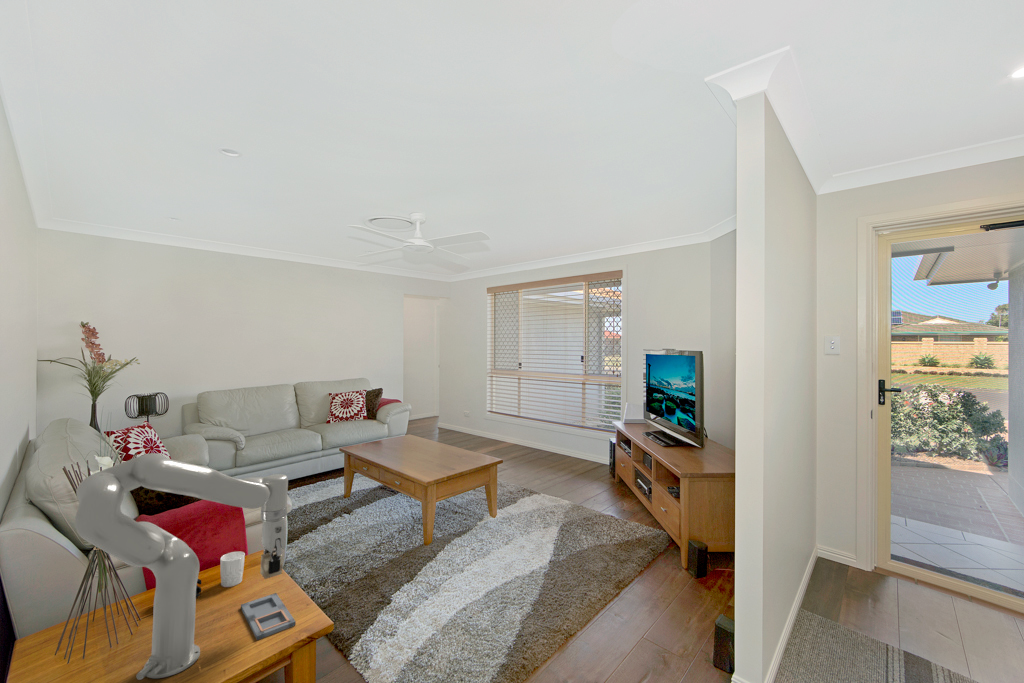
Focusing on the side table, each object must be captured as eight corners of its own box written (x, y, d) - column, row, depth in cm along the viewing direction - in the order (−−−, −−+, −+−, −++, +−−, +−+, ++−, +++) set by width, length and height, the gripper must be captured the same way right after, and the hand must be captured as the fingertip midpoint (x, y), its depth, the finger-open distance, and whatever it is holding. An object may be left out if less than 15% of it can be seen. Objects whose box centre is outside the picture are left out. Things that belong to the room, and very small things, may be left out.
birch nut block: (281, 573, 142) (282, 555, 142) (265, 579, 139) (266, 560, 139) (276, 568, 146) (277, 550, 146) (260, 573, 142) (261, 554, 142)
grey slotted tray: (295, 626, 140) (295, 620, 140) (257, 641, 132) (257, 635, 132) (275, 597, 156) (276, 592, 156) (240, 608, 148) (240, 603, 148)
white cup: (248, 578, 168) (249, 552, 168) (233, 589, 160) (234, 561, 161) (229, 576, 169) (230, 550, 169) (214, 587, 161) (215, 560, 161)
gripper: (295, 517, 139) (292, 575, 139) (277, 504, 151) (275, 556, 151) (269, 523, 134) (266, 583, 133) (253, 509, 146) (250, 563, 145)
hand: (271, 568), depth 142 cm, fingers closed on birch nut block, 5 cm apart
